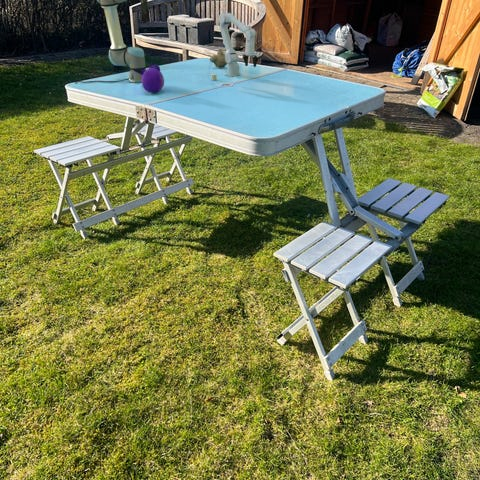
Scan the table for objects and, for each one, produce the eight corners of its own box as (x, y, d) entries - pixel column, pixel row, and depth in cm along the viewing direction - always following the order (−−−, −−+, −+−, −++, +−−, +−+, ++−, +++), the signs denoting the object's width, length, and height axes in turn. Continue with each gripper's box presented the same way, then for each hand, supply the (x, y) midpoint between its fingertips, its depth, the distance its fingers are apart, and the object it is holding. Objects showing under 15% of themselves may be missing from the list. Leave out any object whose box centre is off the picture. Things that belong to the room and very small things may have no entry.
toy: (156, 85, 322) (164, 98, 301) (131, 81, 314) (137, 93, 294) (160, 63, 314) (168, 74, 293) (135, 58, 306) (141, 69, 286)
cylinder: (216, 79, 340) (216, 73, 337) (216, 80, 336) (216, 74, 334) (211, 79, 340) (211, 73, 337) (211, 80, 336) (211, 74, 334)
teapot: (213, 69, 375) (212, 50, 367) (207, 67, 383) (206, 48, 376) (235, 67, 384) (235, 48, 376) (229, 65, 392) (228, 46, 385)
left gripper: (144, -8, 339) (147, 23, 349) (151, -9, 360) (154, 21, 371) (134, -8, 339) (138, 23, 350) (141, -9, 360) (145, 21, 371)
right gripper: (239, 47, 333) (239, 66, 339) (255, 48, 325) (255, 68, 332) (245, 45, 337) (245, 65, 344) (261, 47, 330) (260, 66, 336)
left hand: (146, 22), depth 360 cm, fingers open, 13 cm apart
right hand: (250, 66), depth 338 cm, fingers open, 7 cm apart
